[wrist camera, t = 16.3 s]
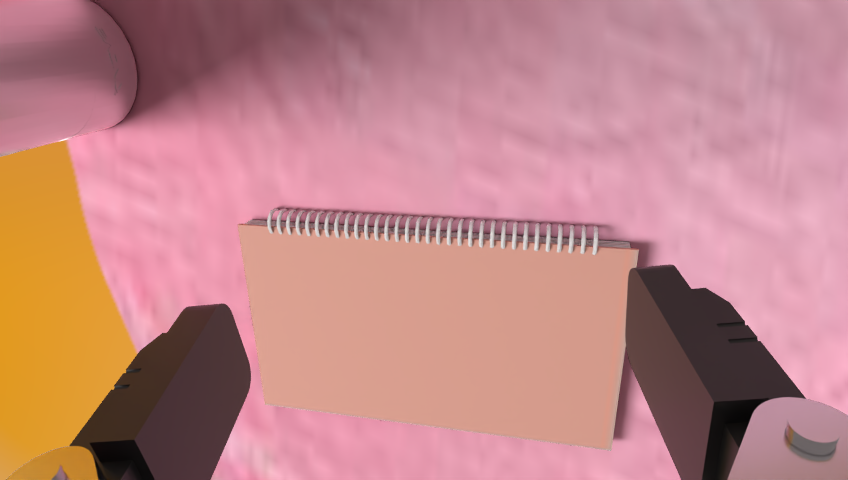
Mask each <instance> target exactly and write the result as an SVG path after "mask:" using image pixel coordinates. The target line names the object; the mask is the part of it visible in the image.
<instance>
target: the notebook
mask: <svg viewBox="0 0 848 480" xmlns="http://www.w3.org/2000/svg"><path fill="white" fill-rule="evenodd" d="M276 210H279V209H276V208H275V209H273V210H271V212H270V214H269V216H268V220H267V221H264V220H250V221H248V222H247V223H245V224H238V231H239V237H240V244H241V250H242V257H243V263H244V270H245V276H246V283H247V289H248V296H249V302H250V309H251V315H252V322H253V328H254V335H255V341H256V348H257V355H258V361H259V368H260V374H261V381H262V387H263V394H264V400H265V405H272V406H280V407H287V408H295V409H302V410H310V411H317V412H325V413H332V414H340V415H347V416H355V417H362V418H370V419H377V420H385V421H392V422H400V423H407V424H415V425H422V426H430V427H437V428H445V429H452V430H460V431H467V432H475V433H482V434H490V435H497V436H505V437H513V438H520V439H528V440H535V441H543V442H550V443H558V444H565V445H573V446H580V447H588V448H595V449H603V450H610V451H611V449H612V442H613V434H614V427H615V420H616V412H617V405H618V398H619V391H620V383H621V376H622V369H623V362H624V354H625V347H626V341H625V327H626V308H627V289H628V275H629V271H630V269H631V268H636V267H637V260H638V252H639V249H635V248H631V247H630V243H629V242H622V241H605V240H598V227H597V226H594V227H593V229H594V240H589V239H586V226H585V225H582V226H581V228H582V239H574V225H570V238H562V235H563V225H561V224H559V225H558V238H555V237H551V224H549V223H548V224H547V237H539V234H540V223H536V230H535V237H528V229H529V223H527V222H526V223H525V226H524V236H517V226H518V222H514V224H513V236H511V235H506V225H507V222H506V221H504V222H503V225H502V233H501V235H495V225H496V221H492V224H491V232H490V234H483V233H484V224H485V222H486V221H485V220H482V221H481V224H480V233H479V234H478V233H473V225H474V221H475V220H473V219H472V220H470V224H469V233H462V226H463V221H464V219H460V221H459V225H458V232H451V226H452V222H453V220H454V219H453V218H451V219H449V222H448V227H447V232H445V231H440V230H441V223H442V220H443V219H444V218H439V220H438V223H437V229H436V231H430V224H431V220H432V219H433V217H430V218H428V221H427V225H426V230H419V228H420V222H421V219H423V217H421V216H420V217H418V219H417V222H416V229H415V230H412V229H409V224H410V220H411V218H413V216H409V217H408V218H407V220H406V225H405V229H399V222H400V219H401V218H402V217H403V216H401V215H400V216H398V217H397V219H396V222H395V228H388V226H389V221H390V218H391V217H393V215H388V216H387V218H386V220H385V228H379V227H378V224H379V220H380V218H381V216H383V215H382V214H379V215H378V216H377V217H376V220H375V225H374V227H368V223H369V219H370V217H371V216H373V214H371V213H370V214H368V215H367V217H366V219H365V225H364V227H363V226H358V223H359V219H360V217H361V215H363V214H362V213H359V214H358V215H357V217H356V219H355V225H354V226H348V222H349V218H350V216H351V215H354V213H348V215H347V216H346V219H345V225H338V223H339V218H340V216H341V214H344V213H343V212H340V213H338V214H337V216H336V219H335V223H334V225H330V224H329V219H330V216H331V214H334V213H335V212H329V213H328V214H327V217H326V219H325V224H319V219H320V216H321V214H322V213H325V212H324V211H321V212H319V213H318V214H317V217H316V219H315V224H314V223H309V220H310V217H311V214H312V213H315V212H316V211H313V210H312V211H310V212H309V213H308V215H307V217H306V221H305V223H299V222H300V217H301V214H302V213H303V212H306V210H302V211H300V212H299V213H298V216H297V218H296V222H290V218H291V215H292V213H293V212H297V210H291V211H290V212H289V214H288V217H287V219H286V222H281V216H282V214H283V212H284V211H288V210H287V209H283V210H281V211H280V212H279V215H278V217H277V221H271V219H272V215H273V213H274V212H275V211H276Z"/></svg>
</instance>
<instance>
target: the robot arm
mask: <svg viewBox="0 0 848 480" xmlns="http://www.w3.org/2000/svg"><path fill="white" fill-rule="evenodd" d="M136 91H137V70H136V65H135V59H134V56H133V53H132V51H131V48H130V45H129V43H128V41H127V39H126V37H125V36H124V34H123V32H122V30H121V29H120V27H119V26H118V25H117V24H116V22H115V21H114V20H113V18H112V17H111V16H110V15H109V14H108V13H106V12H105V11H104V10H103V9H102V8H101V7H100V6H98V5H97V4H95V3H94V2H92V1H90V0H0V156H4V155H8V154H12V153H16V152H19V151H23V150H27V149H30V148H35V147H38V146H42V145H46V144H50V143H54V142H58V141H62V140H66V139H70V138H74V137H77V136H81V135H85V134H89V133H93V132H96V131H100V130H104V129H107V128H110V127H113V126H115V125H116V124H118V123H119V122H120V121H122V120H123V119H124V118H125V116H126V115H127V114H128V113H129V111H130V109H131V107H132V105H133V103H134V100H135V96H136ZM625 341H626V349H627V354H628V358H629V362H630V365H631V367H632V369H633V372H634V374H635V376H636V378H637V381H638V383H639V385H640V387H641V390H642V392H643V394H644V396H645V399H646V401H647V403H648V405H649V408H650V410H651V412H652V414H653V417H654V419H655V421H656V424H657V426H658V428H659V430H660V433H661V435H662V437H663V439H664V442H665V444H666V446H667V448H668V451H669V453H670V455H671V457H672V460H673V462H674V464H675V466H676V469H677V471H678V473H679V475H680V478H681V480H848V415H846V414H844V413H843V412H841V411H839V410H837V409H835V408H833V407H831V406H828V405H825V404H823V403H820V402H816V401H813V400H809V399H806V398H805V397H804V395H803V394H802V393H801V392H800V390H799V389H798V388H797V387H796V385H795V384H794V383H793V382H792V380H791V379H790V378H789V377H788V375H787V374H786V373H785V372H784V370H783V369H782V368H781V367H780V365H779V364H778V363H777V362H776V360H775V359H774V358H773V356H772V355H771V354H770V353H769V351H768V350H767V349H766V348H765V346H764V345H763V344H762V343H761V341H758V340H757V336H756V335H755V334H754V333H753V331H752V330H751V329H750V328H749V326H748V325H745V321H744V320H743V319H742V317H741V316H740V315H739V314H738V312H737V311H736V310H735V309H734V307H733V306H732V305H731V304H730V303H729V302H728V301H726V300H724V299H723V298H721V297H720V296H718V295H716V294H715V293H713V292H711V291H710V290H708V289H707V288H699V289H691V288H690V287H689V285H688V284H687V282H686V281H685V280H684V278H683V277H682V275H681V274H680V273H679V271H678V270H677V268H676V267H675V266H674V265H660V266H649V267H638V268H631V269H630V271H629V275H628V289H627V308H626V327H625ZM250 381H251V371H250V364H249V361H248V358H247V355H246V352H245V349H244V346H243V343H242V340H241V338H240V335H239V332H238V329H237V326H236V323H235V320H234V317H233V315H232V312H231V310H230V308H229V307H228V306H227V305H226V304H213V305H202V306H190V307H186V308H185V309H184V310H183V311H182V312H181V314H180V315H179V317H178V318H177V319H176V321H175V322H174V324H173V325H172V327H171V328H170V329H169V331H168V332H167V333H162V334H161V335H159V336H158V337H157V338H156V339H154V340H153V341H152V342H151V343H149V344H148V345H147V346H146V347H144V348H143V349H142V350H140V352H139V353H138V354H137V356H136V357H135V359H134V360H133V361H132V362H131V364H130V365H129V367H128V368H127V369H126V373H124V374H123V375H122V376H121V377H120V379H119V380H118V381H117V383H116V384H115V385H114V386H115V388H114V390H111V391H110V392H109V393H108V395H107V396H106V398H105V399H104V400H103V401H102V403H101V404H100V405H99V407H98V408H97V410H96V411H95V412H94V414H93V415H92V416H91V418H90V419H89V420H88V422H87V423H86V424H85V426H84V427H83V428H82V430H81V431H80V432H79V434H78V435H77V436H76V438H75V439H74V440H73V442H72V443H71V444H70V446H67V447H62V448H58V449H54V450H51V451H48V452H46V453H44V454H41V455H40V456H38V457H36V458H34V459H32V460H30V461H29V462H27V463H25V464H24V465H23V466H21V467H20V468H18V469H17V470H16V471H15V472H14V473H12V474H11V475H10V476H9V477H8V478H7V479H6V480H211V477H212V475H213V473H214V470H215V468H216V466H217V463H218V461H219V459H220V457H221V454H222V452H223V450H224V447H225V445H226V443H227V440H228V438H229V436H230V433H231V431H232V429H233V427H234V424H235V422H236V420H237V417H238V415H239V413H240V410H241V408H242V406H243V404H244V401H245V399H246V397H247V394H248V392H249V388H250Z"/></svg>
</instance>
